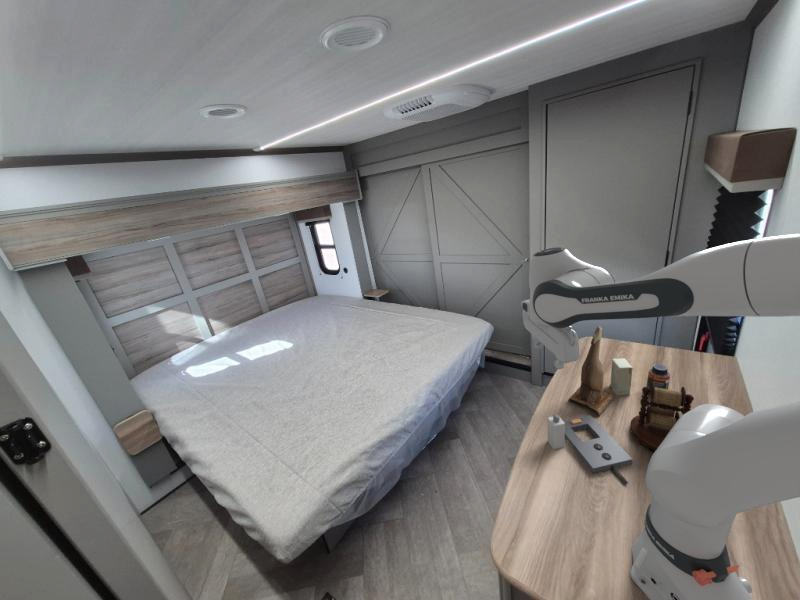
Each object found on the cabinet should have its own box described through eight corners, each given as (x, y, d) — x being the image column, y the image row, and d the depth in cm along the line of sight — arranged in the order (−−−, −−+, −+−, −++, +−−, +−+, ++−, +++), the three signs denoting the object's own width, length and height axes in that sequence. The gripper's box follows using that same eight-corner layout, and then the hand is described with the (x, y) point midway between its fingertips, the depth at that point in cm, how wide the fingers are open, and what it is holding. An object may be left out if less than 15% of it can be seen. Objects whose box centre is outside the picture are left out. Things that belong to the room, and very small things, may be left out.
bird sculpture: (567, 403, 115) (569, 330, 102) (580, 386, 121) (584, 315, 109) (600, 418, 107) (607, 340, 94) (613, 399, 113) (621, 323, 100)
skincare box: (630, 395, 113) (633, 368, 108) (616, 395, 114) (619, 368, 109) (622, 384, 119) (625, 357, 114) (609, 384, 120) (612, 358, 115)
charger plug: (564, 447, 98) (565, 419, 94) (553, 449, 98) (554, 421, 94) (557, 438, 102) (558, 411, 97) (547, 440, 102) (547, 413, 97)
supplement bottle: (670, 397, 109) (676, 371, 105) (651, 398, 110) (656, 372, 106) (660, 386, 114) (664, 361, 110) (642, 387, 115) (645, 362, 111)
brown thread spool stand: (686, 427, 97) (698, 376, 90) (695, 465, 86) (709, 410, 79) (629, 415, 105) (635, 366, 98) (629, 447, 94) (637, 396, 87)
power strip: (646, 479, 85) (647, 472, 84) (605, 489, 85) (605, 482, 84) (589, 419, 106) (590, 413, 105) (556, 427, 106) (556, 421, 105)
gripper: (588, 327, 68) (585, 378, 73) (539, 295, 87) (539, 337, 92) (561, 332, 68) (560, 383, 73) (517, 299, 87) (519, 342, 92)
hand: (548, 357), depth 82 cm, fingers open, 8 cm apart
